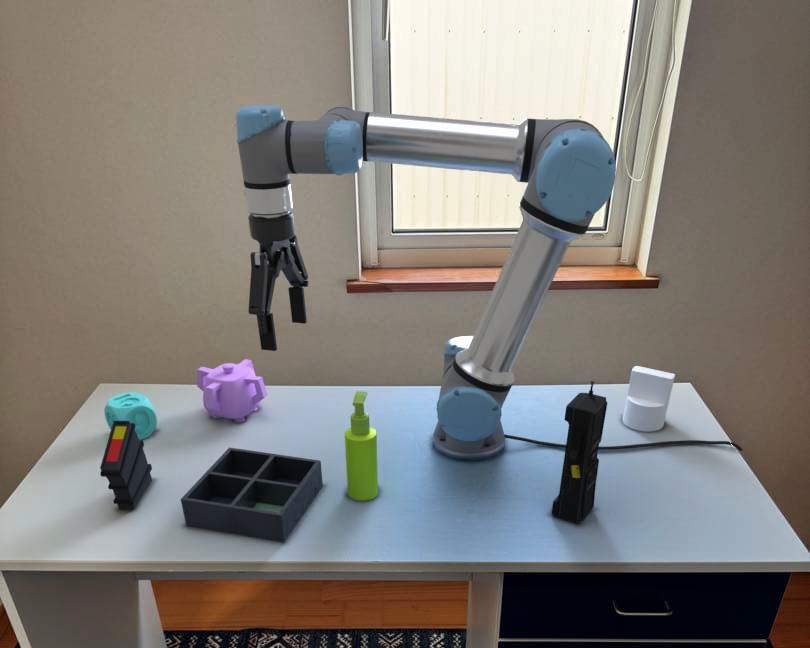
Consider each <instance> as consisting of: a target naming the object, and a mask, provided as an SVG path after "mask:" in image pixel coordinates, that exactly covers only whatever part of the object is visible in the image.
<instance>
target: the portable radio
mask: <svg viewBox="0 0 810 648" xmlns="http://www.w3.org/2000/svg"><path fill="white" fill-rule="evenodd" d="M594 384H595V381H594V380H590V390H588V392H578V393H577V395H576V396H574V397H573V399H572V400H570V402H569V403H568V404H567V405H566V407H565V411H564V412H565V413H564V421H565V422H567V424H568V429H567V435H566V441H565V442H566V443H565V445H566V448H564V449H565V450H564V456H563V457H564V458H563V464H562V470H561V476H560V477H561V478H560V485H559V492H558V495H557V496H556V497H555V499H553V501H552V507H551V515H552V516H554V517H556V518H559V519H561V520H564V521H568V522H570V523H574V524H577V525H578V524H580V523H582V522H583V521H584V520H585V519H586V518H587V516H589V514H590V513H591V511H592V510H593V508H594V507H595V498H596V497H595V496H596V495H595V494H596V486H597V479H598V471H599V463H600V459H599V458H598V455H599V454H598V453H599V450H598V448H599V447H600V443H601V442H602V438H603V432H604V426H605V420H606V413H607V408H608V401H607V397H606V396H603V395H599V394H595V393H594V391H593V390H594V389H593V388H594Z"/></svg>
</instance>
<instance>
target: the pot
mask: <svg viewBox="0 0 810 648" xmlns="http://www.w3.org/2000/svg"><path fill="white" fill-rule="evenodd" d="M196 374H197V377H196V378H197V380H196V381H197V385H196V386H197V388H198V389H200V391H202V393H203V394H202V403H203V408H204V410H206V412H207V413H208V414H210V415H211V416H212V418H214V419H221V418H225V419H233V420H234V423H242V422H244V421H245V419H246V418H245V417H246V416H247V415H249V414H252V412H256V411H257V410H258V406H259V405H260V403H261V401H263V400H264V399H265V398H266V397H267V396H268V392H267V388H266V384H265V382H264V379H263V376H257V375H256V371H255V368H254V363H253V361H252V360H251V359H246V358H245V359H243V360H242V361H240V362H239V363H232V362H226V363H223V364H220V365H218V366H216V367H214V368H209V367H205V366H200V367H199V368H197V373H196Z"/></svg>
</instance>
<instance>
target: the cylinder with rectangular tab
mask: <svg viewBox="0 0 810 648" xmlns="http://www.w3.org/2000/svg"><path fill="white" fill-rule="evenodd" d="M675 377H676V374H675V373H672V372H667V371H662V370H659V369H653V368H649V367H644V366H639V365H635V366H633V367H632V369H631V373H630V378H629V384H628V390H627V395H626V400H625V405H624V410H623V415H622V423H623V424H624V425H625V426H626V427H628V428H629V429H632V430H635V431H639V432H645V433H646V432H647V433H651V432H657V431H659V430H662V428H663V427H664V426H665V421H666V417H667V413H668V409H669V408H668V407H669V404H670V399H671V395H672V389H673V386H674V382H675Z"/></svg>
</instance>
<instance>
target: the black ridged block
mask: <svg viewBox="0 0 810 648" xmlns="http://www.w3.org/2000/svg"><path fill="white" fill-rule="evenodd" d="M135 427H136V425H135V424H134V423H130V421H114V422H113V425H112V428H111V430H110V431H109V435H108V439H107V442H106V446H105V450H104V453H103V456H102V460H101V463H100V467H99V469H100V474H99V475H100V476H101V478H102V477H103V478H106V479H107V481H108V486H107V489H108V490H112V491H113V494H114V499H113V500H112V502H113V504H114V505H117V508H118V509H119V510H135V509H136V507H137V505H138V504H139V502H140V500H141V499H142V497H143V496H144V494H145V493H146V491H147V489H148V488H149V486H150V484H151V483H152V481H153V478H152V477H153V476H152V474H151V471H152V470H153V466H152V463H148V459H147V456H146V453H145V451H144V447H145V442H144V440H139V438H138V436H137V433H136V432H135Z"/></svg>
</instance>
